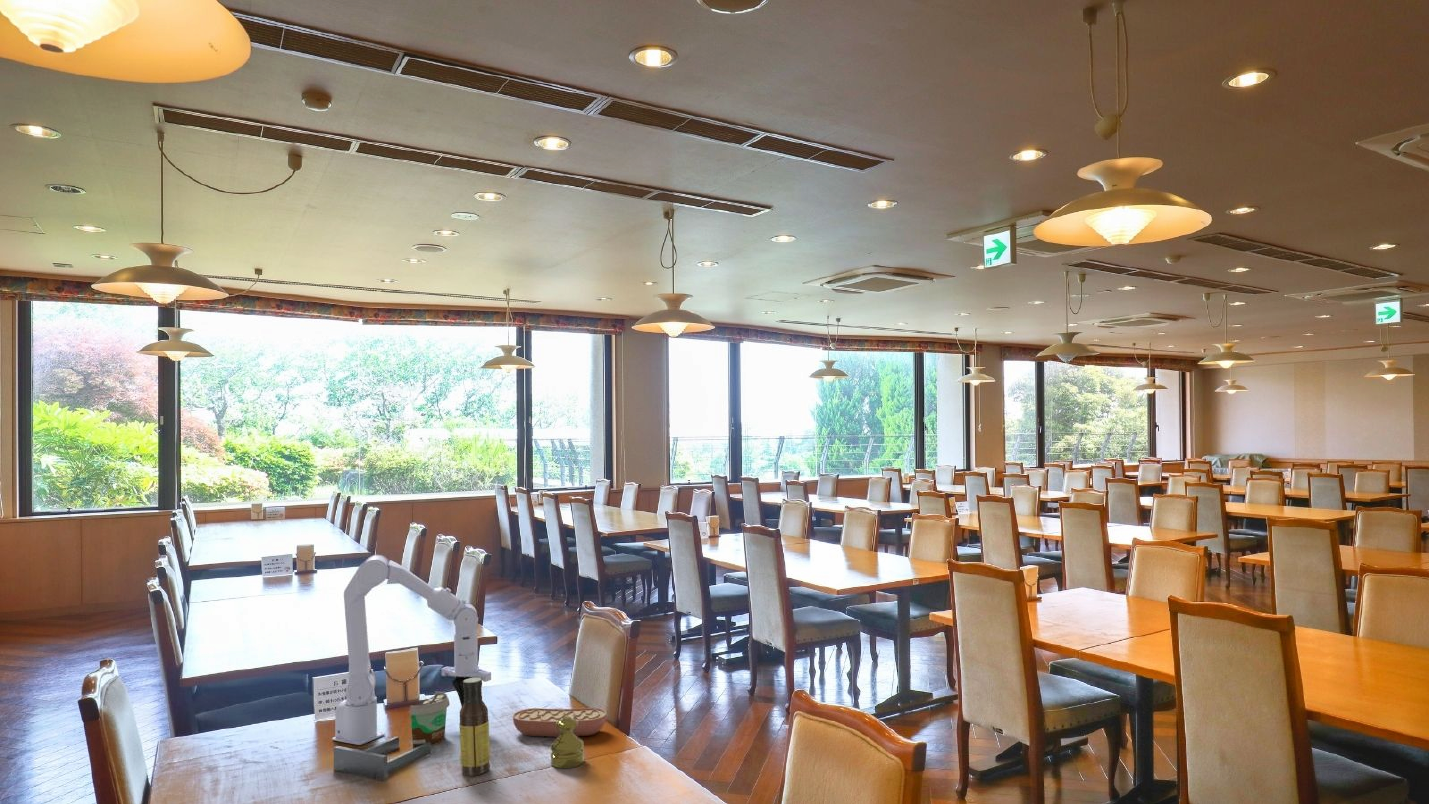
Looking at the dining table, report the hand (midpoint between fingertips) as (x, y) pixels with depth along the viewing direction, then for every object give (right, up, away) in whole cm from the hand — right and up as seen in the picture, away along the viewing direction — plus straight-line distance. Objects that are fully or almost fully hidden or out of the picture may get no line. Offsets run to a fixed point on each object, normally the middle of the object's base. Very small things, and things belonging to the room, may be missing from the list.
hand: (466, 706), depth 216 cm
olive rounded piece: (+30, -4, -26) cm, 40 cm away
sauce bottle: (+10, -4, -29) cm, 32 cm away
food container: (-5, -5, -10) cm, 12 cm away
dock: (-11, -4, -23) cm, 26 cm away
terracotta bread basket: (+25, -5, -7) cm, 26 cm away
